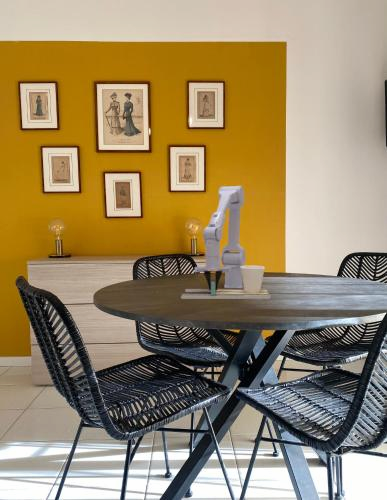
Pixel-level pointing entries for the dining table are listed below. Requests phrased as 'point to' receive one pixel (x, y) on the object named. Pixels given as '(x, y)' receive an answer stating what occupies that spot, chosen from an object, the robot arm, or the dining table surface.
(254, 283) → the cup
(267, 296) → the lane rails
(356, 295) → the dining table surface
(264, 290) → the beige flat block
